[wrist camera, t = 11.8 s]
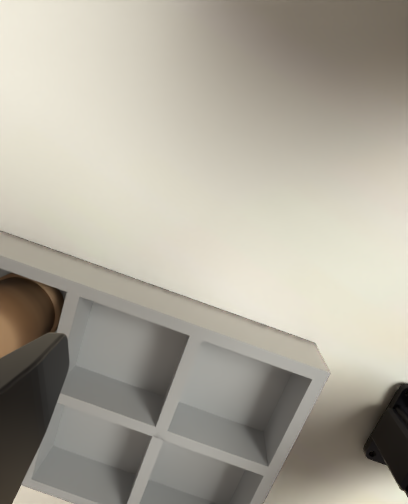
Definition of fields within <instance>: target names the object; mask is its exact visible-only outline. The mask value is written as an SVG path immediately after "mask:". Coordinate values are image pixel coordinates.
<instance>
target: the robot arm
mask: <svg viewBox="0 0 408 504" xmlns="http://www.w3.org/2000/svg"><path fill="white" fill-rule="evenodd" d="M69 363H70V360H69V348H68V338H67V335H66V334H64V333H46V334H45V335H43V336H41V337H39V338H37V339H35V340H33V341H31V342H30V343H28V344H26V345H24V346H22V347H20V348H18V349H16V350H15V351H13V352H11V353H9V354H7V355H5V356H3V357H1V358H0V504H12V503H13V501H14V499H15V496H16V494H17V492H18V490H19V488H20V486H21V484H22V482H23V480H24V478H25V476H26V474H27V472H28V469H29V467H30V465H31V463H32V461H33V459H34V457H35V455H36V453H37V451H38V449H39V447H40V445H41V442H42V440H43V438H44V436H45V433H46V431H47V428H48V426H49V423H50V420H51V418H52V415H53V412H54V409H55V407H56V404H57V401H58V398H59V395H60V393H61V390H62V387H63V384H64V381H65V379H66V376H67V373H68V370H69ZM406 391H408V384H403V385H401V386H400V387H399V389H398V390H397V392H396V394H395V395H394V397H393V399H392V400H391V402H390V404H389V406H388V407H387V409H386V411H385V412H384V414H383V416H382V417H381V419H380V421H379V422H378V424H377V426H376V428H375V429H374V431H373V433H372V434H371V436H370V438H369V439H368V441H367V443H366V444H365V446H364V448H363V451H364V453H365V455H366V457H367V458H368V459H370V460H373V461H376V462H379V463H382V464H384V465H387V466H388V468H389V470H390V472H391V473H392V475H393V477H394V479H395V481H396V483H397V484H398V486H399V488H400V489H401V490H402V491H404V492H405V493H406V495H407V497H408V393H405V392H406ZM371 451H373V452H371Z"/></svg>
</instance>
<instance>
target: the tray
mask: <svg viewBox="0 0 408 504" xmlns="http://www.w3.org/2000/svg"><path fill="white" fill-rule="evenodd" d="M9 273H15V274H18V275H21V276H23V277H26V278H29V279H32V280H35V281H37V282H40V283H43V284H46V285H49V286H51V287H54V288H57V289H59V290H60V292H61V294H62V296H63V298H64V305H63V309H62V313H61V317H60V321H59V325H58V329H57V330H56V331H55V332H54V333H64V334H66V335H67V338H68V348H69V360H70V363H69V370H68V373H67V376H66V379H65V381H64V384H63V387H62V390H61V393H60V395H59V398H58V401H57V404H56V407H55V409H54V412H53V415H52V418H51V420H50V423H49V426H48V428H47V431H46V433H45V436H44V438H43V440H42V442H41V445H40V447H39V449H38V451H37V453H36V455H35V457H34V459H33V461H32V463H31V465H30V467H29V469H28V472H27V474H26V476H25V478H24V480H23V482H22V484H21V485H23V486H26V487H28V488H31V489H34V490H37V491H40V492H43V493H45V494H48V495H51V496H54V497H57V498H60V499H62V500H65V501H68V502H71V503H74V504H263V503H264V501H265V499H266V497H267V495H268V493H269V491H270V489H271V487H272V485H273V483H274V481H275V479H276V478H277V476H278V474H279V472H280V470H281V468H282V466H283V464H284V462H285V460H286V458H287V456H288V454H289V452H290V451H291V449H292V447H293V445H294V443H295V441H296V439H297V437H298V435H299V433H300V431H301V429H302V427H303V425H304V424H305V422H306V420H307V418H308V416H309V414H310V412H311V410H312V408H313V406H314V404H315V402H316V400H317V398H318V396H319V395H320V393H321V391H322V389H323V387H324V385H325V383H326V381H327V379H328V377H329V375H330V371H329V369H328V367H327V365H326V363H325V361H324V359H323V357H322V355H321V353H320V352H319V350H318V348H317V346H316V344H315V343H314V342H311V341H308V340H305V339H303V338H300V337H297V336H294V335H291V334H289V333H286V332H283V331H280V330H277V329H275V328H272V327H269V326H266V325H263V324H261V323H258V322H255V321H252V320H249V319H247V318H244V317H241V316H238V315H235V314H233V313H230V312H227V311H224V310H221V309H219V308H216V307H213V306H210V305H207V304H205V303H202V302H199V301H196V300H193V299H191V298H188V297H185V296H182V295H179V294H177V293H174V292H171V291H168V290H165V289H163V288H160V287H157V286H154V285H151V284H149V283H146V282H143V281H140V280H137V279H135V278H132V277H129V276H126V275H123V274H120V273H118V272H115V271H112V270H109V269H106V268H104V267H101V266H98V265H95V264H92V263H90V262H87V261H84V260H81V259H78V258H76V257H73V256H70V255H67V254H64V253H62V252H59V251H56V250H53V249H50V248H48V247H45V246H42V245H39V244H36V243H34V242H31V241H28V240H25V239H22V238H20V237H17V236H14V235H11V234H8V233H6V232H3V231H0V277H2V276H5V275H7V274H9Z"/></svg>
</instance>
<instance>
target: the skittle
mask: <svg viewBox="0 0 408 504" xmlns="http://www.w3.org/2000/svg"><path fill="white" fill-rule="evenodd" d="M63 305H64V298H63V296H62V294H61V292H60V290H59V289H57V288H54V287H51V286H49V285H46V284H43V283H40V282H37V281H35V280H32V279H29V278H26V277H23V276H21V275H18V274H15V273H9V274H7V275H5V276H2V277H0V358H1V357H3V356H5V355H7V354H9V353H11V352H13V351H15V350H16V349H18V348H20V347H22V346H24V345H26V344H28V343H30V342H31V341H33V340H35V339H37V338H39V337H41V336H43V335H45V334H46V333H54V332H55V331H56V330H57V329H58V325H59V321H60V317H61V313H62V309H63Z"/></svg>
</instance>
